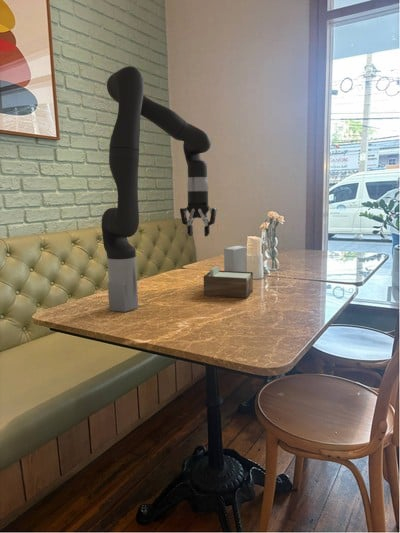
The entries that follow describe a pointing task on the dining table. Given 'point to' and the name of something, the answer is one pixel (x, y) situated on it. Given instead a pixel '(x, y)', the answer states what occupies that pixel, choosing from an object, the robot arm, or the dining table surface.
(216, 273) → the lid
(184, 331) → the dining table surface
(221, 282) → the box
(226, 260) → the skincare box
